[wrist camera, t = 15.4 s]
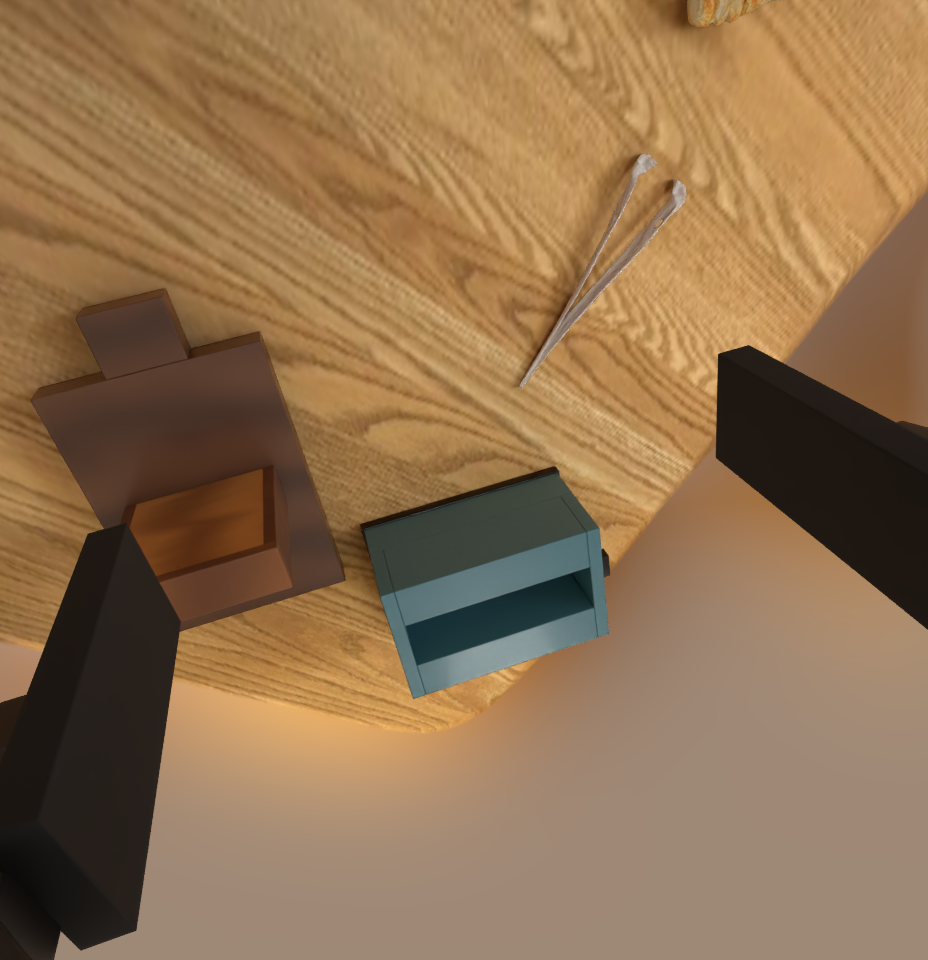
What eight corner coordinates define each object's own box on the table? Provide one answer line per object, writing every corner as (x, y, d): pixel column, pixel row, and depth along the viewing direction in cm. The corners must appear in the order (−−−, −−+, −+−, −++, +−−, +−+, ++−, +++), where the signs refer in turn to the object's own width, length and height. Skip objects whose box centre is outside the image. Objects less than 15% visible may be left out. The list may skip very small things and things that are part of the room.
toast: (144, 542, 47) (119, 640, 39) (124, 507, 46) (94, 601, 37) (287, 500, 49) (293, 587, 40) (273, 464, 47) (276, 547, 39)
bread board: (343, 565, 55) (345, 580, 53) (168, 619, 53) (165, 636, 52) (238, 269, 42) (237, 277, 41) (4, 327, 41) (-7, 337, 39)
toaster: (391, 623, 59) (411, 701, 52) (359, 524, 54) (376, 595, 46) (578, 563, 61) (623, 630, 54) (567, 462, 56) (615, 521, 48)
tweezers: (636, 147, 45) (650, 151, 43) (684, 187, 47) (699, 193, 45) (489, 366, 51) (496, 377, 49) (537, 392, 53) (546, 403, 52)
